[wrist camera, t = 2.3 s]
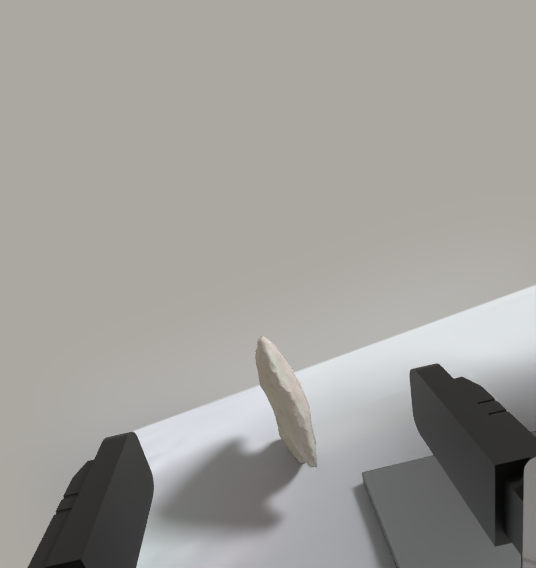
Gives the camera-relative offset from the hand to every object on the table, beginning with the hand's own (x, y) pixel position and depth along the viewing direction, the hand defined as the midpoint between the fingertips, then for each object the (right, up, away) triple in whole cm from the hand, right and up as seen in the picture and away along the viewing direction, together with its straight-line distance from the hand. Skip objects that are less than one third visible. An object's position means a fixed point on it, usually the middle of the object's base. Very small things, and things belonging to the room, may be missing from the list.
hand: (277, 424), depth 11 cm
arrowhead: (+2, -8, +15) cm, 17 cm away
